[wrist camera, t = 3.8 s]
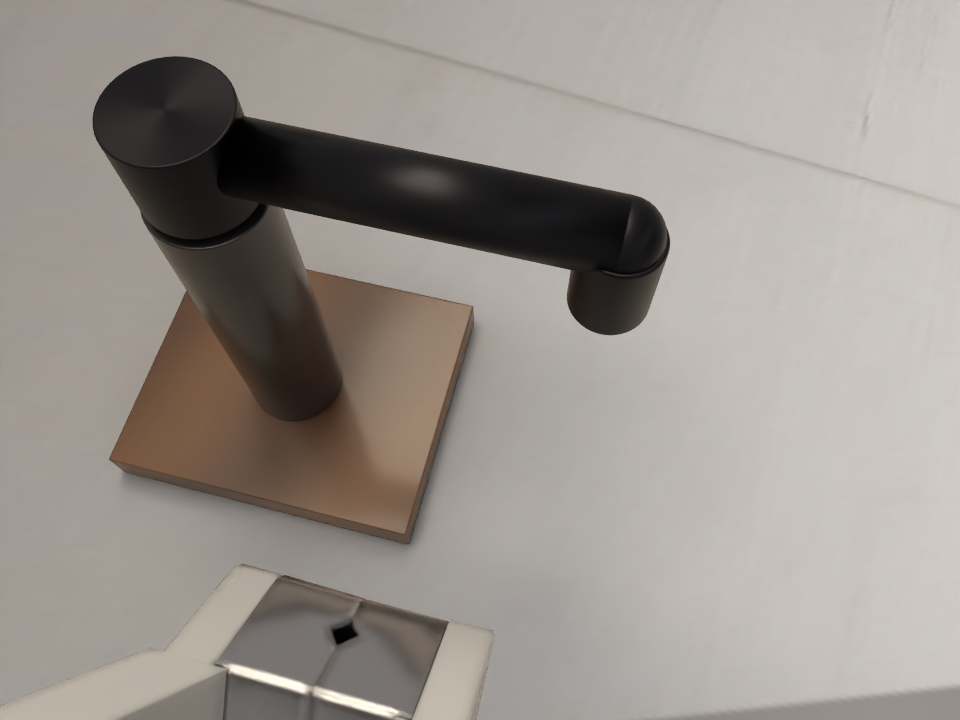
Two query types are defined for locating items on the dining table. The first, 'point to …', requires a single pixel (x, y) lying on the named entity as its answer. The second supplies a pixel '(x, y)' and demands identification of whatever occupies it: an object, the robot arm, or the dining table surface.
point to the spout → (367, 188)
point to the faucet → (295, 384)
